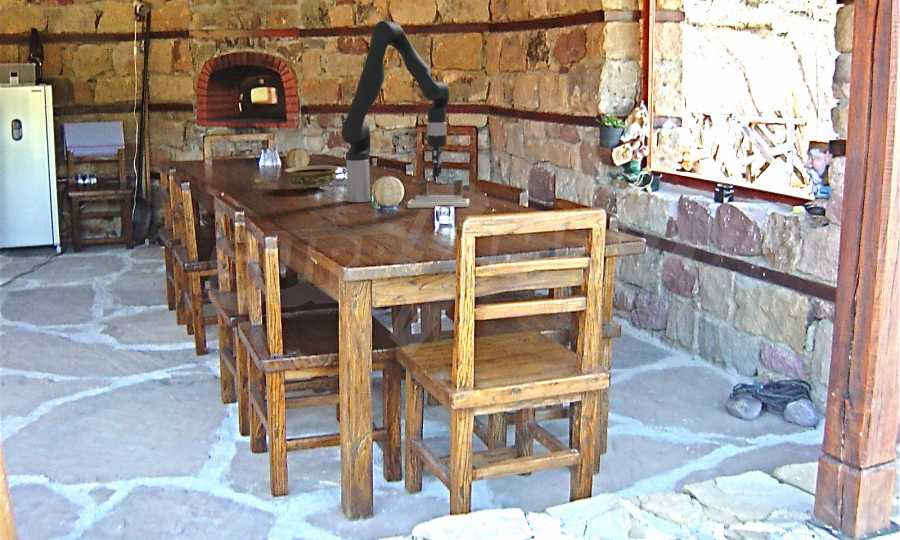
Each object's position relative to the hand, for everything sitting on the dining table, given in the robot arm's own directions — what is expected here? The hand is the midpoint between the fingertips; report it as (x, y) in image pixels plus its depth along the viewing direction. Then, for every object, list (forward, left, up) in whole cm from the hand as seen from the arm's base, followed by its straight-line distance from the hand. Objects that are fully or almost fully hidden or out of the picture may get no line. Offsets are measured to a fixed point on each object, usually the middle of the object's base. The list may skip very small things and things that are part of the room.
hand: (437, 175), depth 383 cm
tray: (0, 0, -12) cm, 12 cm away
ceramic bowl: (-63, +50, -13) cm, 81 cm away
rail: (0, 0, -12) cm, 12 cm away
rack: (0, +10, -12) cm, 16 cm away
